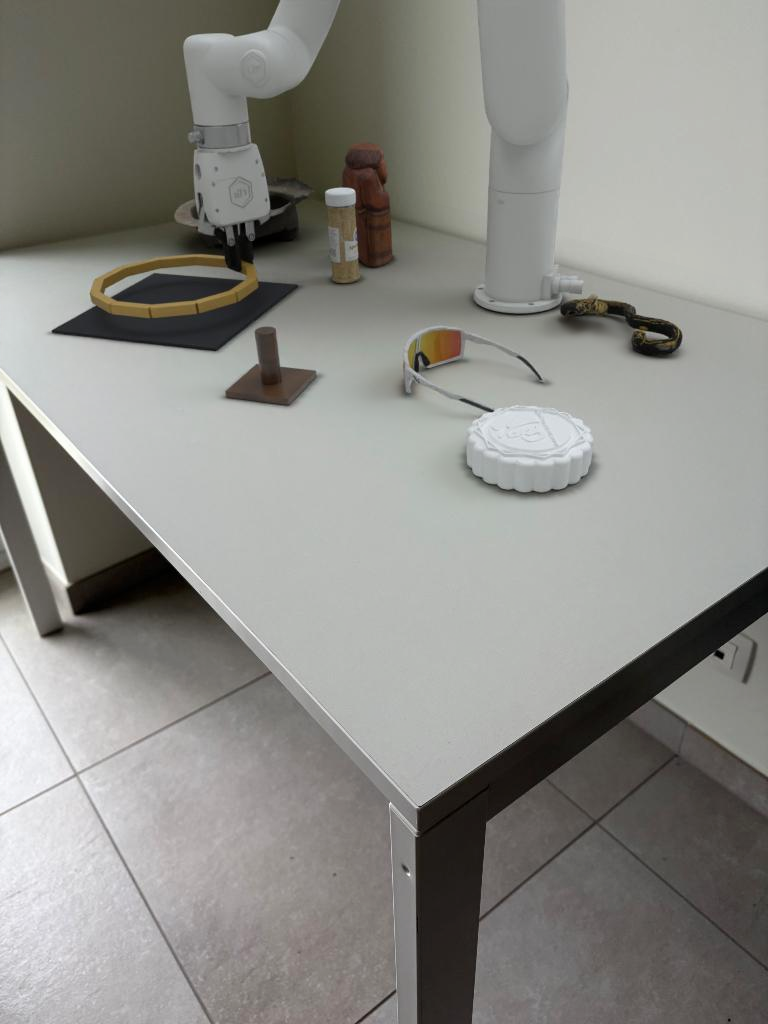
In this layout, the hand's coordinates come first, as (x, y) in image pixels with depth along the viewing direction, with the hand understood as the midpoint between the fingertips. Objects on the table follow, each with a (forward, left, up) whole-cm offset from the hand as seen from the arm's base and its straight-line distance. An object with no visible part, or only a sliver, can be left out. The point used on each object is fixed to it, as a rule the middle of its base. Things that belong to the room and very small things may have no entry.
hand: (240, 267), depth 122 cm
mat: (+5, +9, -4) cm, 11 cm away
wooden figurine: (-14, -20, -4) cm, 25 cm away
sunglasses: (-42, +24, -4) cm, 49 cm away
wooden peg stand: (-20, +30, -4) cm, 36 cm away
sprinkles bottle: (-14, -9, -4) cm, 17 cm away
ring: (+5, +9, -1) cm, 11 cm away
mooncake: (-52, +39, -4) cm, 65 cm away
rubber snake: (-57, +4, -4) cm, 57 cm away
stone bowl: (+13, -26, -4) cm, 29 cm away
